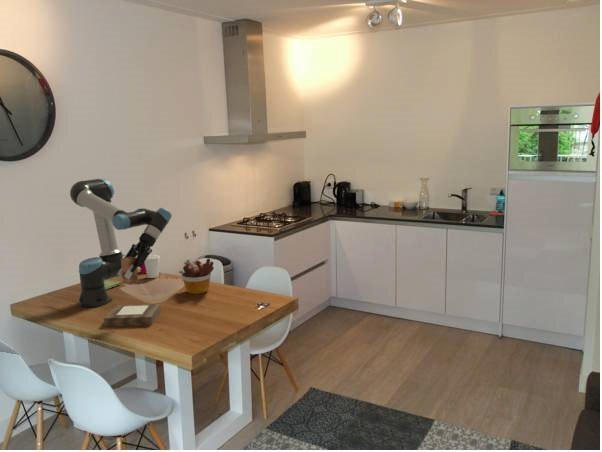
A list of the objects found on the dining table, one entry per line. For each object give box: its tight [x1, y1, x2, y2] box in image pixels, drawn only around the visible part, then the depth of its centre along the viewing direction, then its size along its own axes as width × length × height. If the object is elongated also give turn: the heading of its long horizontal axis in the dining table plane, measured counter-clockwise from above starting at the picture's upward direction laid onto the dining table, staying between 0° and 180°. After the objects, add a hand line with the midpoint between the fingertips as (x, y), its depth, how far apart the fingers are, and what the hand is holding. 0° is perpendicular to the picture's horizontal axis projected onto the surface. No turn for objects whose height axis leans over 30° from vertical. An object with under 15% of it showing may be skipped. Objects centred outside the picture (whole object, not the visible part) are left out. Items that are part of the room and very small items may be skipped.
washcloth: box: [104, 279, 122, 291], centre depth 310 cm, size 13×18×3 cm
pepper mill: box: [139, 262, 147, 274], centre depth 336 cm, size 7×7×20 cm
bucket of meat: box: [178, 258, 215, 295], centre depth 294 cm, size 20×16×20 cm
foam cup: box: [145, 254, 161, 279], centre depth 324 cm, size 10×9×13 cm
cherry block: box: [121, 256, 139, 285], centre depth 251 cm, size 5×5×12 cm
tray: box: [103, 303, 162, 327], centre depth 255 cm, size 22×18×4 cm
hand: (123, 276), depth 249 cm, fingers closed on cherry block, 5 cm apart
